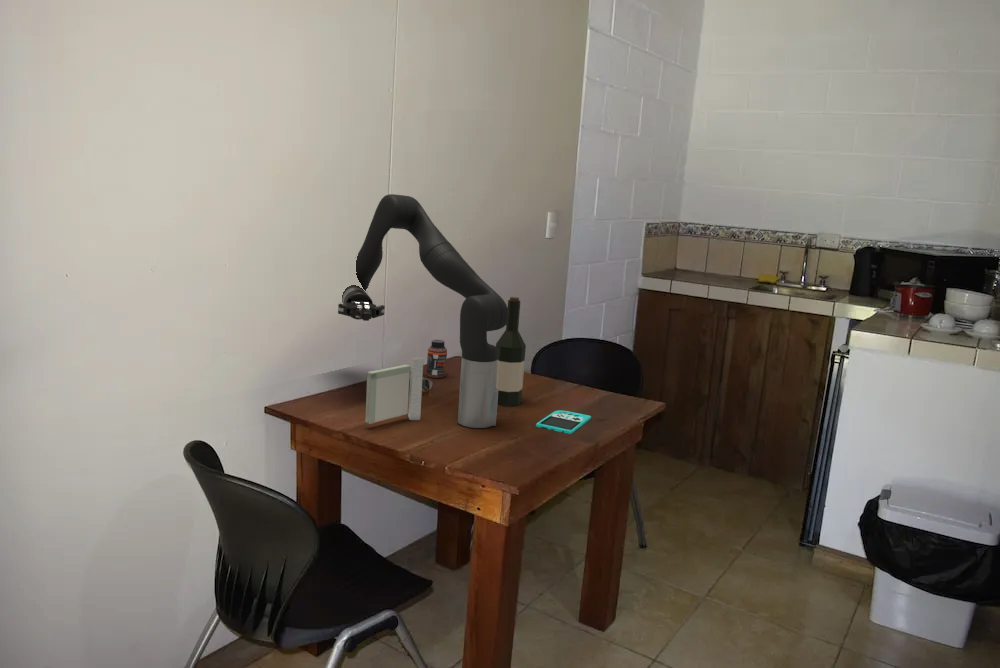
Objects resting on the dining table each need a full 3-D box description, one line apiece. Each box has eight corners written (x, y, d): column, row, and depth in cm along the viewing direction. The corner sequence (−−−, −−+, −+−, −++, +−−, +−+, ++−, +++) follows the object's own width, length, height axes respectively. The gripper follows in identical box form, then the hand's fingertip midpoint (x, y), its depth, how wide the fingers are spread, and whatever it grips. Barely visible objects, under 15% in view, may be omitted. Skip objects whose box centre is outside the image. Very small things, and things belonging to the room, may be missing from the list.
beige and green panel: (403, 412, 199) (406, 364, 196) (408, 414, 198) (410, 365, 195) (365, 422, 189) (367, 372, 187) (369, 424, 188) (371, 373, 186)
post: (418, 416, 201) (421, 356, 198) (420, 419, 199) (423, 359, 195) (408, 417, 200) (411, 356, 197) (410, 420, 198) (413, 359, 195)
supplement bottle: (438, 379, 237) (440, 343, 235) (422, 376, 240) (424, 340, 238) (449, 376, 242) (451, 340, 240) (433, 372, 245) (435, 337, 243)
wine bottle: (492, 405, 215) (499, 299, 209) (491, 396, 224) (498, 294, 217) (522, 407, 216) (530, 301, 210) (520, 398, 224) (528, 296, 218)
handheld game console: (591, 420, 211) (592, 415, 210) (571, 436, 196) (572, 431, 196) (557, 413, 215) (557, 408, 214) (535, 428, 200) (535, 423, 200)
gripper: (333, 288, 212) (341, 301, 196) (381, 290, 216) (393, 303, 200) (332, 315, 213) (339, 330, 197) (379, 316, 218) (391, 331, 202)
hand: (366, 316), depth 199 cm, fingers closed
